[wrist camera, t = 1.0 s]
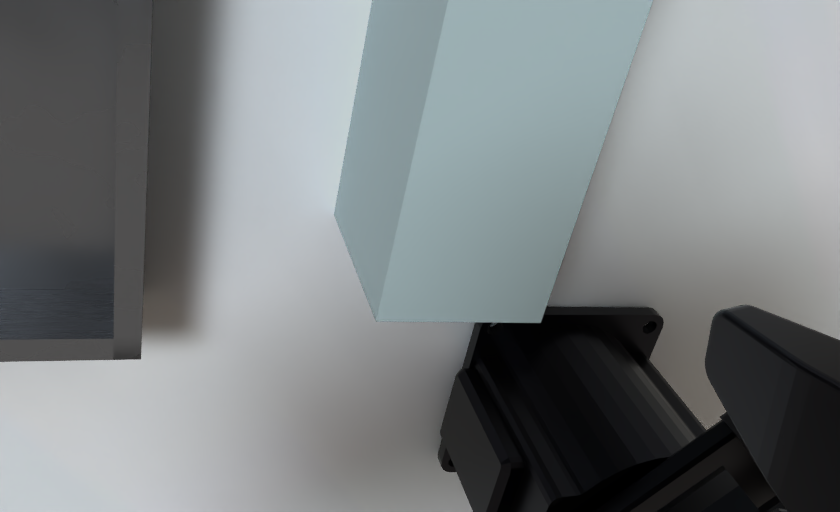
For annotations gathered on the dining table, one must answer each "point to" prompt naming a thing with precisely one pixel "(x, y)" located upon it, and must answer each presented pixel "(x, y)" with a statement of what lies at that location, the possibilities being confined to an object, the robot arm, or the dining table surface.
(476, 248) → the blanking panel
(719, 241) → the dining table surface
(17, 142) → the grey compartment tray
